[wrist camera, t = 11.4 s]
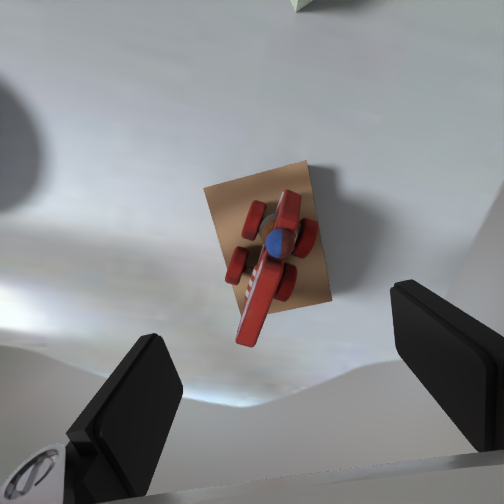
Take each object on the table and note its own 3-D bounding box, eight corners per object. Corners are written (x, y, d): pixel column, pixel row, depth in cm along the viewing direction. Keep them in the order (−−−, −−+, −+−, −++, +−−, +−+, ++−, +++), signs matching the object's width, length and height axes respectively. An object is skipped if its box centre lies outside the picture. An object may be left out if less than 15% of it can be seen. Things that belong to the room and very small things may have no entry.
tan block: (211, 188, 28) (203, 188, 25) (300, 164, 27) (306, 160, 23) (244, 303, 32) (242, 319, 29) (323, 287, 31) (332, 300, 27)
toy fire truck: (321, 203, 24) (361, 213, 14) (278, 303, 28) (287, 368, 18) (259, 180, 24) (256, 174, 14) (223, 284, 27) (200, 339, 17)
